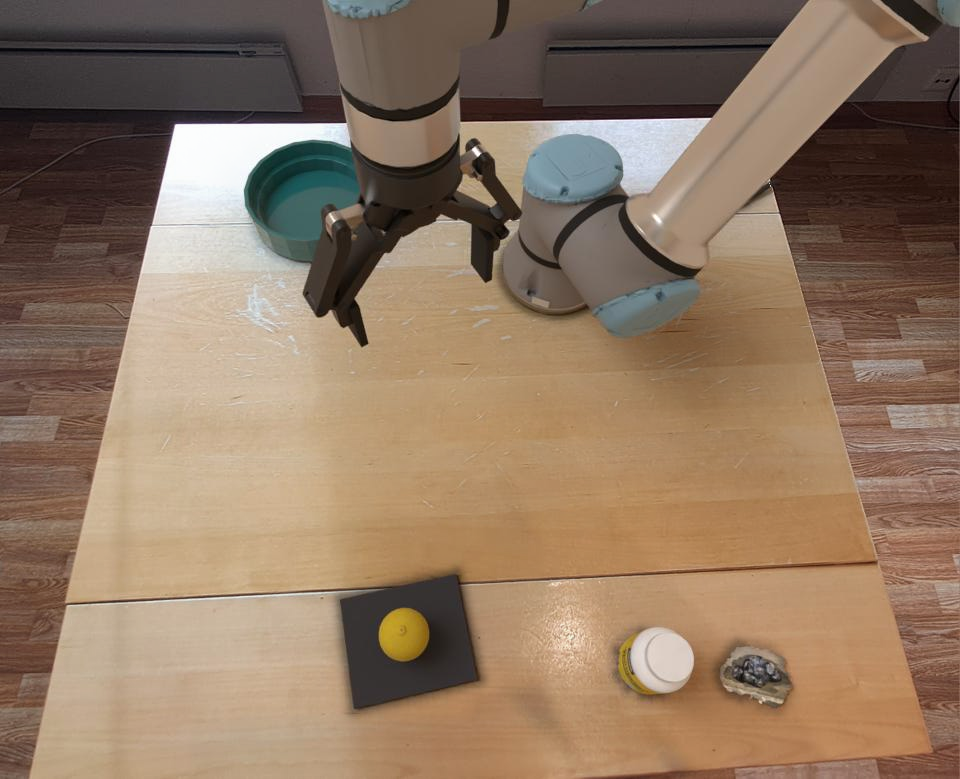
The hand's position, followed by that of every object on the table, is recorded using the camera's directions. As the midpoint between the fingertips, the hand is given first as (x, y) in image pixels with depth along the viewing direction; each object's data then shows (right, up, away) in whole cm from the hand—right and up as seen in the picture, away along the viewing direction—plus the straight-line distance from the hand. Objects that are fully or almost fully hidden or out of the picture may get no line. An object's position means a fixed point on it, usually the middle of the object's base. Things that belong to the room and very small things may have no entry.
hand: (421, 302), depth 65 cm
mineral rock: (+37, -41, +13) cm, 57 cm away
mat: (-3, -37, +14) cm, 40 cm away
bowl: (-20, +19, +41) cm, 49 cm away
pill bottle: (+24, -40, +13) cm, 49 cm away
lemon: (-3, -37, +14) cm, 40 cm away
